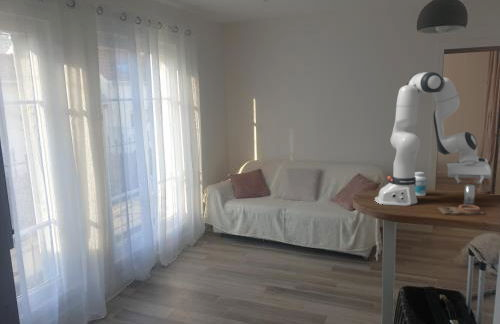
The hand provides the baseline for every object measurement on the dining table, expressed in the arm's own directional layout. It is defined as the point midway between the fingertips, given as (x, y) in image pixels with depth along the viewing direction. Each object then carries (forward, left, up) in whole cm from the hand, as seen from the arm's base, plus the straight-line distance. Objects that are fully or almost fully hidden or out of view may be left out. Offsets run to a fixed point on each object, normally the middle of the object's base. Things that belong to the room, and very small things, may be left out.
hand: (469, 183), depth 195 cm
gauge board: (-10, -15, -11) cm, 21 cm away
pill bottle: (-20, +19, -11) cm, 29 cm away
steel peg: (-2, -5, -11) cm, 12 cm away
